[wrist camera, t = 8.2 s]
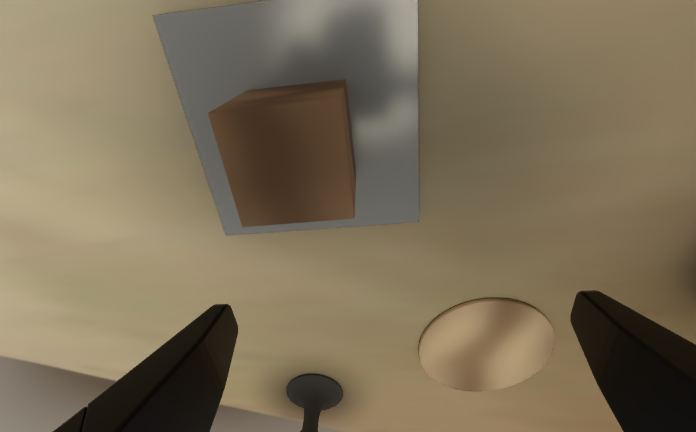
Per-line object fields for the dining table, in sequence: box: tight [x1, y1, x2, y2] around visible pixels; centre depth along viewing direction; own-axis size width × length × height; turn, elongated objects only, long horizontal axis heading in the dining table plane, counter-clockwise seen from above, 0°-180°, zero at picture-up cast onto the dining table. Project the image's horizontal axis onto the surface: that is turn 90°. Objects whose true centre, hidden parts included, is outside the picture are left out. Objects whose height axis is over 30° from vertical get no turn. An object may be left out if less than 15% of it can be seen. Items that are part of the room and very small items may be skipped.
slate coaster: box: [153, 0, 419, 236], centre depth 18 cm, size 12×12×1 cm
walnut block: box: [208, 79, 356, 227], centre depth 16 cm, size 5×5×5 cm
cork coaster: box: [419, 298, 555, 392], centre depth 26 cm, size 10×10×1 cm
